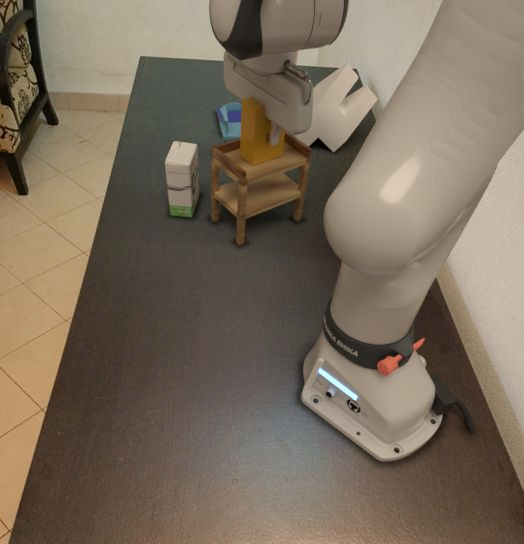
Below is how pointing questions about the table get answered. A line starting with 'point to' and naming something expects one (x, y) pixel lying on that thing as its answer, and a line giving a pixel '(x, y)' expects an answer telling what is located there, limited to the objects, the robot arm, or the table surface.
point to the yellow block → (257, 134)
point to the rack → (257, 181)
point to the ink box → (182, 178)
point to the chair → (230, 129)
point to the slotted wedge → (337, 109)
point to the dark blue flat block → (230, 116)
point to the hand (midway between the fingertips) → (262, 136)
